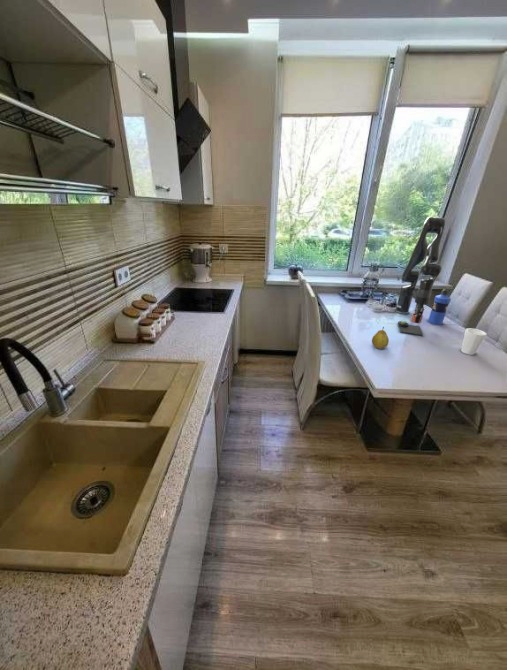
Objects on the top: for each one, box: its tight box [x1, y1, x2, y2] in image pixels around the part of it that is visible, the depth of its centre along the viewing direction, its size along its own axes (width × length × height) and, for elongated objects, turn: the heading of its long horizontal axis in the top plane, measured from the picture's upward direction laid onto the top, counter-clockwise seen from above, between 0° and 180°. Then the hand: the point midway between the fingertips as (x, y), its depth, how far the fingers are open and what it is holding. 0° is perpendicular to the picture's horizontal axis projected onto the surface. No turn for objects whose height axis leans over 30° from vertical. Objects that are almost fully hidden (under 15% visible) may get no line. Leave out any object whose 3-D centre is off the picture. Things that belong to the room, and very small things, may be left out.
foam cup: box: [461, 327, 488, 356], centre depth 156 cm, size 10×9×13 cm
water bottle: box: [427, 288, 452, 326], centre depth 195 cm, size 9×9×25 cm
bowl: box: [410, 312, 424, 324], centre depth 180 cm, size 6×6×5 cm
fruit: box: [371, 326, 390, 350], centre depth 159 cm, size 9×9×12 cm
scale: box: [397, 320, 423, 337], centre depth 186 cm, size 16×14×2 cm
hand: (415, 320), depth 180 cm, fingers closed on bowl, 6 cm apart
